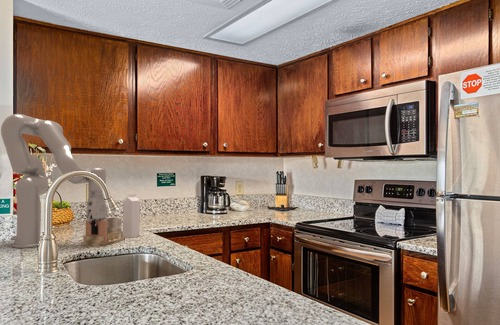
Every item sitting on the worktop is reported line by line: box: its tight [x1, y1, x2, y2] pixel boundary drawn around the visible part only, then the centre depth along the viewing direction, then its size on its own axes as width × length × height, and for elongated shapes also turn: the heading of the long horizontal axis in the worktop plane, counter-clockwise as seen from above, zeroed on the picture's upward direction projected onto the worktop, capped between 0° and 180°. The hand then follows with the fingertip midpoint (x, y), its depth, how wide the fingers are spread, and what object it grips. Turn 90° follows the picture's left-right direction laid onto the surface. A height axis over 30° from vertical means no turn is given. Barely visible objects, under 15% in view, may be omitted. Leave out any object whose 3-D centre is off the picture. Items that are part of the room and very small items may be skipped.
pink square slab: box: [85, 219, 107, 243], centre depth 180 cm, size 10×2×10 cm, turn 77°
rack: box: [80, 216, 126, 247], centre depth 186 cm, size 12×18×11 cm, turn 167°
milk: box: [122, 193, 141, 239], centre depth 203 cm, size 6×6×22 cm
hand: (96, 233), depth 180 cm, fingers closed on pink square slab, 2 cm apart
